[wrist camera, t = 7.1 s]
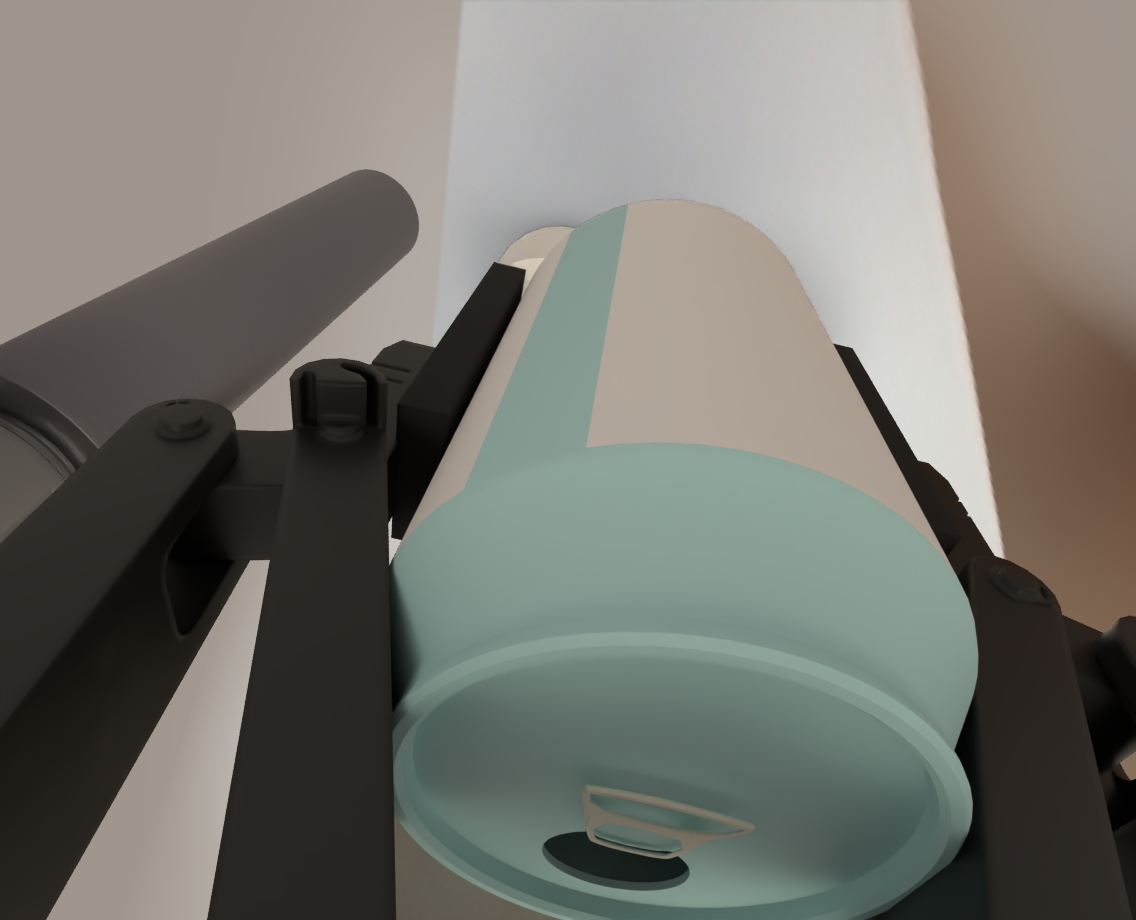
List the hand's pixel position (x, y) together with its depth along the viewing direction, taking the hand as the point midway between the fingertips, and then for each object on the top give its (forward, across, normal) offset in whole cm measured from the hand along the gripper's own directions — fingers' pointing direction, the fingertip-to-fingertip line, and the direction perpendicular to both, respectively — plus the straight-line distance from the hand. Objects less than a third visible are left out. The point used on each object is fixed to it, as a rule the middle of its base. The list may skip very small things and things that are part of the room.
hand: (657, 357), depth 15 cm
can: (+1, 0, 0) cm, 1 cm away
